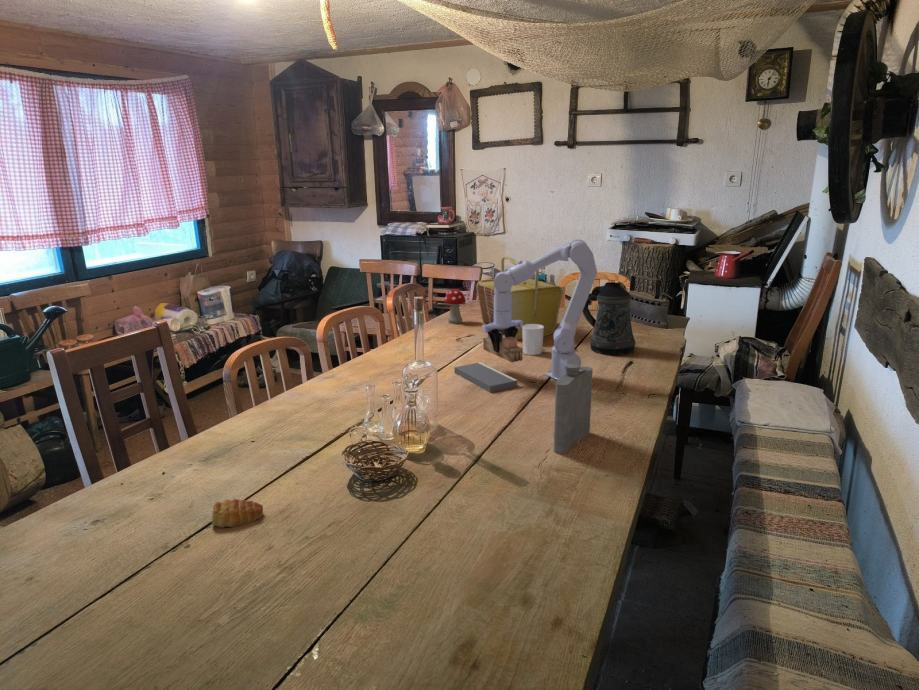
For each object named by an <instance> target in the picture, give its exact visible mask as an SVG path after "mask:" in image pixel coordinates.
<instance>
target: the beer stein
mask: <svg viewBox="0 0 919 690" xmlns="http://www.w3.org/2000/svg"><path fill="white" fill-rule="evenodd" d="M631 300H632V295H631V293H630V292H628V290H626V289H625V288H623V287H622V285H621V283H620V282H615V281H614V282H611V281H609V282H605V284H604V285H601V286H600V285H599V286H594V288H593V289H591V292H590V293H589V296H588V298H587V301H586V303H585V306H584V309H583V311H582V315H583V316H584V318H585V320H587V322H588V323H589V325H590V326H592V327H593V332H592V335H591V337H590V339H589V344H590V349H591V351H592V352H594V353H596V354H599V355H604V356H612V357H613V356H618V357H619V356H622V357H623V356H628V355H630V353H631V354H633V353H634V350H635V347H636V340H635V339H636V338H635V336H634V333H633V328H632V322H631V320H632V319H631V311H630V310H631V309H630V302H631ZM596 301H597V302H598V305H597V311H596V312H597V313H596V317H594V316H593V315H592V314H591V311H590V310H589V304H590V303H591V302H596Z"/></svg>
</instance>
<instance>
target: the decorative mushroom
mask: <svg viewBox="0 0 919 690" xmlns="http://www.w3.org/2000/svg"><path fill="white" fill-rule="evenodd" d="M443 302H444V303H445V304H448V305H450V308H449V309H450V310H449V315H448V318H447V321H448V323H449V324H453V325H461V324H462V323H463V317H462V315H461V309H460V305H463V304H465V303H466V302H467V301H466V297H465V296H464V294H463V292H462V291H461V290H459V289H456V288H453V289H450V290H448V291H447V292H446V294H445V296H444V299H443Z"/></svg>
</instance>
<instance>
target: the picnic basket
mask: <svg viewBox="0 0 919 690" xmlns="http://www.w3.org/2000/svg"><path fill="white" fill-rule="evenodd" d="M505 260H507V261H508V260H509V262H510V263H511V264H513V266H515V265H517V264H518V261H517V260H515V259H514V258H513V257H509V256H502V258H501V259H500V272H505V271H504V269H505ZM539 274H540V269H539V270H536V271H535V274H534V278H530V279H528V280H526V281H524V282H522V283H520V284H518V285H512V287H511V296H512V320H521V321H523V325H526V324H539V325H542V326H544V333H543V337H547V336H549V335H551V334H554V332H555V330H556V329H557V322H558V319H559V313H560V308H561V303H562V299H563V294H564V291H563V290H564V289H563V287H562V286H560V285H555V284H552V283H549V282H544V281H541V280H539ZM494 279H495V278H489V279H488V278H486V279H481V280H479V281H478V282H477V284H476V285H475V286H476V288H475V289H476V292H477V297H478V304H479V309H480V314H481V319H482V322H483V325H487V324H490V323H493V322H494V295H495V294H494V290H495V287H494ZM516 328H517V329H518V333H517V334H516V336H515V338H516V339H517V340H523V337H522V327H516ZM499 332H501V333H504V329H500V330H499Z"/></svg>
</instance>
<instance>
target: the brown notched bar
mask: <svg viewBox="0 0 919 690" xmlns="http://www.w3.org/2000/svg"><path fill="white" fill-rule="evenodd" d="M482 341H483V342H482V343H483V346H482V347H483V351H487V352H488V353H491V354H493V355H495V356H497V357H500V358H501V359H504V360H506V361H508V362H510V363H515V362H522V361H523V356H524V355H523V353H524V352H523V347H520V346H518V345H517V347H512V348H507V347H504V346H502V341H500V347H499V352H495V351H494V349H493V345H492V341H490V340H488V336H486V337H483V339H482Z"/></svg>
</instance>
